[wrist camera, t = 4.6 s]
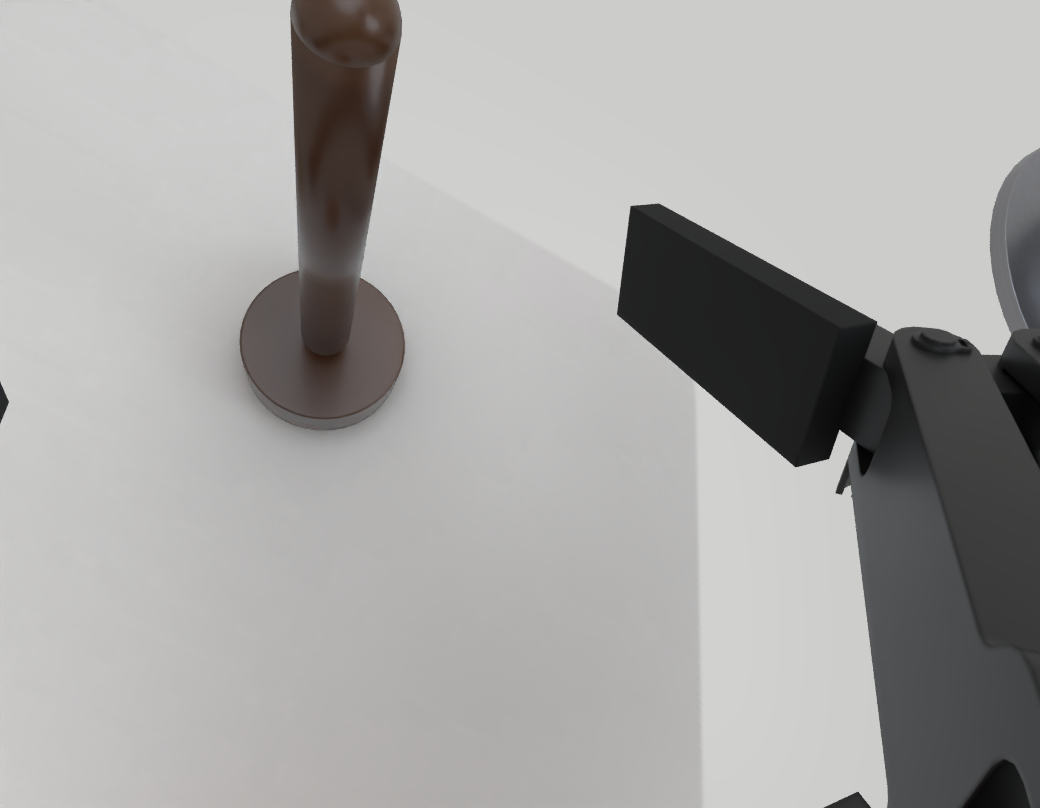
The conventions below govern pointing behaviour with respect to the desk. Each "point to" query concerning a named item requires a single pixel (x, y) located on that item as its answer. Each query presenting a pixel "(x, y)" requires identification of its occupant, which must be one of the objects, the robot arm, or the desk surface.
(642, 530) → the desk surface
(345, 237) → the brown peg stand
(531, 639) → the desk surface
